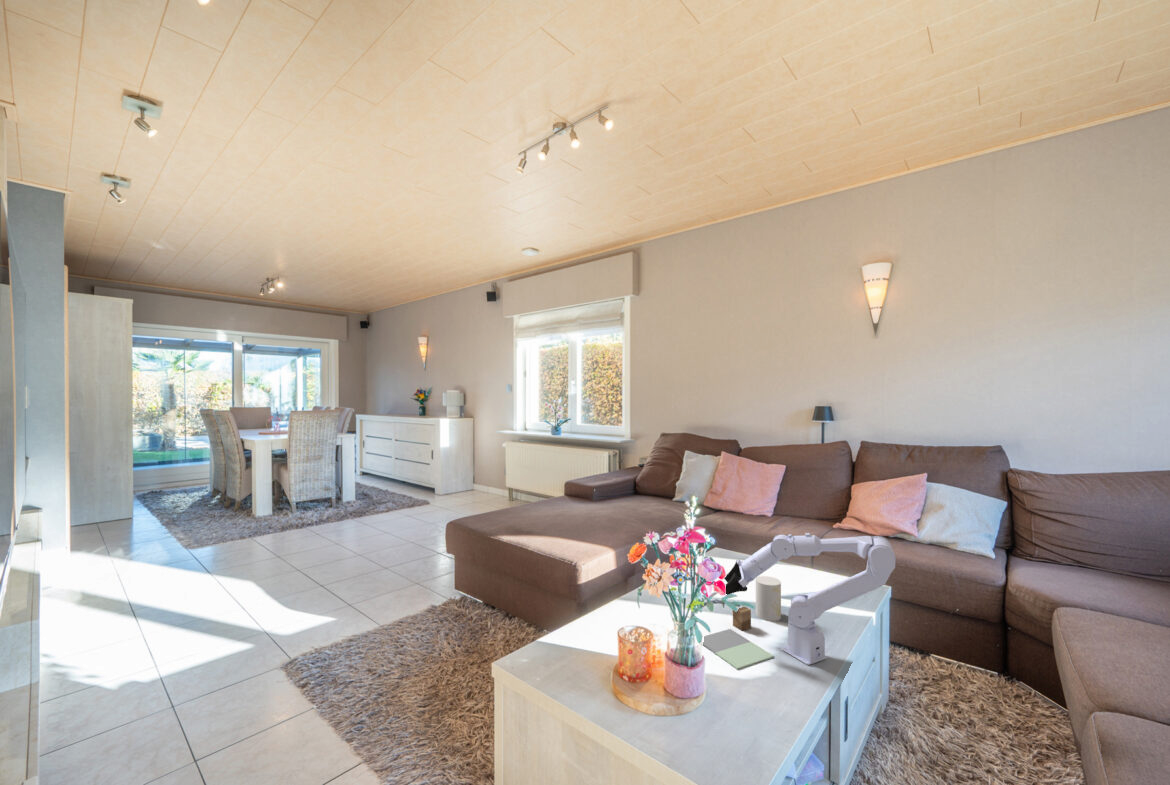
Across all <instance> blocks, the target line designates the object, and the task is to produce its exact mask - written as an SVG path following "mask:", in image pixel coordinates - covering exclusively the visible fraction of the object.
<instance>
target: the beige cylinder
mask: <svg viewBox="0 0 1170 785" xmlns="http://www.w3.org/2000/svg"><path fill="white" fill-rule="evenodd" d="M781 591H782V582H781V580H780V579H779V578H776V577H773V576H767V575H766V576H765V575H759V576H757V577H756V578H755V616H756V617H757V616H758V618H759V619H760V620H762V621H763V620H764V621H769V622H776V621H777V620H778V621H780V620H781V619H782V592H781ZM779 619H780V620H779Z"/></svg>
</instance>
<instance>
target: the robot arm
mask: <svg viewBox="0 0 1170 785" xmlns="http://www.w3.org/2000/svg"><path fill="white" fill-rule="evenodd" d="M822 552H837V553H838V552H839V553H841V552H842V553H845V552H846V553H854V554H856V555H857V556H859V557H860V558H861V559H864V560H866V557H868V558H867V563H866V568H865V570H863V571H860V572H859V573H857V574H854V575H852V576H850V577H848V578H845V579H843V580H841V581H839V582H837V583H835V584H831V585H830V586H828V587H826V588H823V589H821V590H819V591H817V592H809V593H806V594H796V595H794V596H793V597H792V598H791V601H790V607H789V610H788V612H787V613H788V614H787V615H788V617H787V620H788V622H787V626H788V627H787V628H788V629H787V636H788V640H787V642H788V643H787V644H788V645H786V646H783V647H781V651H784V652H785V653H787V654H789V655H790V656H792V657H793V658H795V659H797V660H798V661H800V662H802V663H803V664H806V665H807V666H809V665H814V664H815V663H819V662H821V661H823V660H827V659H828V657H827V656H826V648H825V647H826V641H825V635H824V633H823V632H822V631H820V630H819V628H817V626H816V623H815V620H817V619H819V618H820V617H821V616H822V614H824V613H825V612H826V611H828V610H831V609H833V608H835V607H839V606H840V605H842V604H845V603H847V602H849V601H852V600H854V599H857V598H858V597H861V596H863V595H866V594H867V593H870V592H872V591H875V590H877V589H879V588H882V587H883V586H884V585H886V584H887V581H888V580H889V578H890V576H891V574H892V572H893V571H894V570H895V569H896V560H897V559H896V554H895V551H894V550H893V546H892V543H891V541H889V539H887V538H886V537H883V536H880V535H879V536H878V535H877V536H875V535H874V536H870V535H860V536H849V537H834V538H833V537H832V538H819V537H818V536H817V535H815V534H812V535H811V533H810V532H805V535H793V534H791V533H790V534H787V535H786V534H778V535H777V534H776V535H775V536H774V537H773V539H772V541H771V542H769V543H767V544H766V545H765V546H762V547H761V548H760V549H758V550H757V551H756V552H754V553H753V554H751V555H750V556H749V557H747V558H746V559H744V560H742V561H741V560H740V559H738V560H737V559H736V560H735V564H734V565H733V566H732V568H731V570H730V571H729V572H728V573H727V574H726V575H725V576H726V577H724V580H725V581H726V584H725V585H726V594H727V595H726V596H729V595H732V594H736V593H739V592H747V591H748V585H749V583H751V582H753V581H754V580H756V578H757V577H760V576H761V575H762V574H763V573H764V572H766V571H768V570H769V569H771V568H772V567H773V566H775V565H776V564H777V563H778V562H780V561H781V560H782V559H783V560H788V559H789V558H791V557H792V556H794V557H805V556H807V557H814V556H815V557H817V556H820V554H821V553H822Z"/></svg>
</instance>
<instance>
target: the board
mask: <svg viewBox="0 0 1170 785" xmlns="http://www.w3.org/2000/svg"><path fill="white" fill-rule="evenodd" d="M703 636H704V642H703V645H702V646H703V647H705V649H708V650H709V651H710V652H712V653H713V654H714V655H716V656H718V657H719V658H721V659H722V660H723V661H725V662H726V663H727V664H728V665H730V666H731V667H733V668H734V669H736V670H740V669H743V668H746V667H749V666H752V665H756V664H758V663H762V662H763V661H764V662H765V661H767V660H770V659H774V657H775V655H774V654H772V653H770V652H768V651H767V650H765V649H764V648H762V647H760V646H759V645H757V644H755V643H754V642H752V641H750V640H749V639H747V638H745V637H744V636H742V635H741V634H740V633H738V632H736V631H734V630H733V629H731V628H727V629H725V630H721V631H718V632H714V633H710V634H707V635H703Z"/></svg>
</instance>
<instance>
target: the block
mask: <svg viewBox="0 0 1170 785" xmlns="http://www.w3.org/2000/svg"><path fill="white" fill-rule="evenodd" d="M751 611H752V610H751V608H748V607H747V606H745V607H742V608H739V609H738V611H737V612H735V611H734V610H733V609H732V626H733V627H735V628H737V629H738V630H739V631H741V632H742V631H745V630H749V628H750V629H752V612H751Z"/></svg>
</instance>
